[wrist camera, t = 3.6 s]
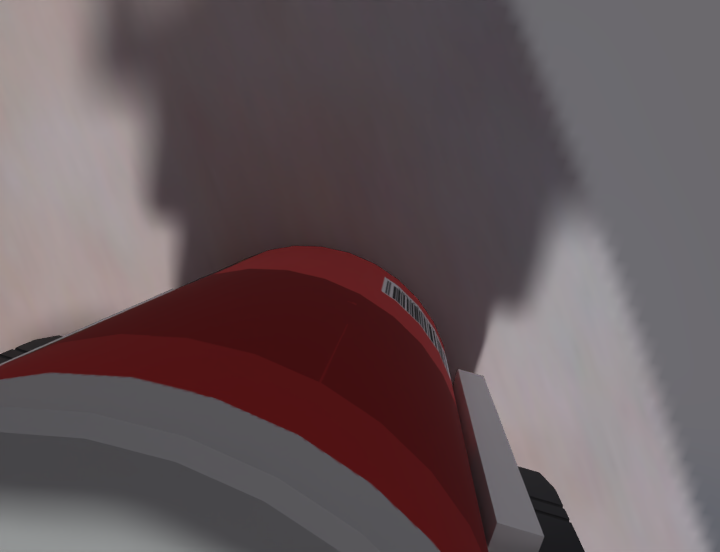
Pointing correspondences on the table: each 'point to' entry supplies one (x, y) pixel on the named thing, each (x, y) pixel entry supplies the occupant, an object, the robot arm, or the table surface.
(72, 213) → the table surface
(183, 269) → the table surface
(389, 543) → the canned food
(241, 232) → the table surface
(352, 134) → the table surface
